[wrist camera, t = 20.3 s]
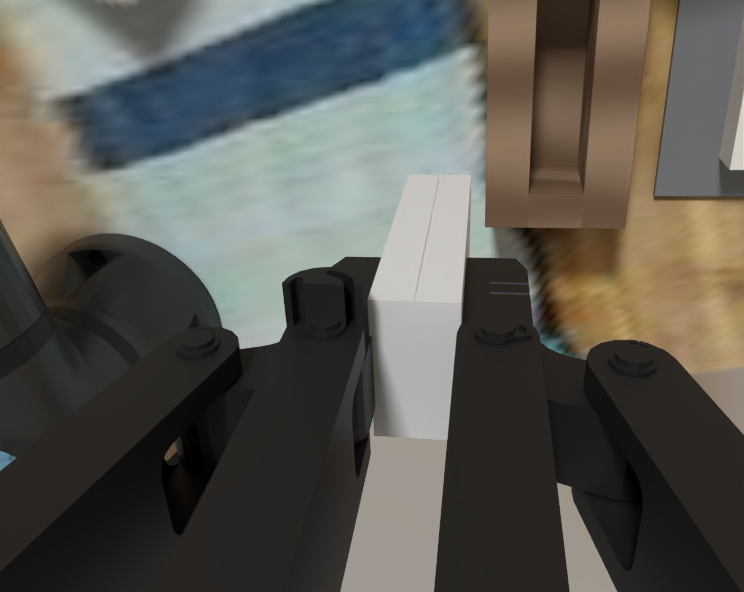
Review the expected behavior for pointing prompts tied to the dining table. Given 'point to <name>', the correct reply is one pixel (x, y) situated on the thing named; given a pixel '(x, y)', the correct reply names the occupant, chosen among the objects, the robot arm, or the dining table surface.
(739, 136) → the rectangular insert block
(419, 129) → the dining table surface
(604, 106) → the slot box
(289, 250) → the dining table surface
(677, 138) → the rubber mat
